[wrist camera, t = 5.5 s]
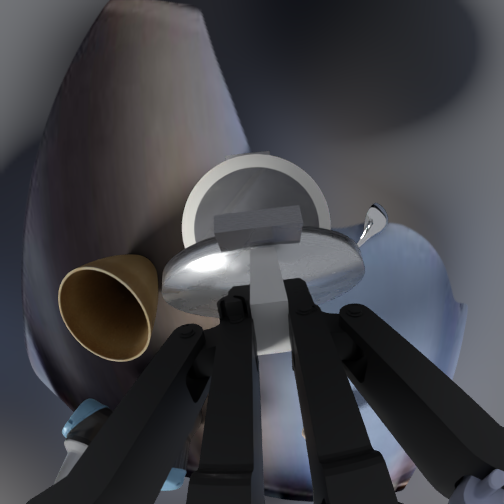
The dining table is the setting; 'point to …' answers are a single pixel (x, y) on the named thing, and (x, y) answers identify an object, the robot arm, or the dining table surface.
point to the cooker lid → (238, 259)
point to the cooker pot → (251, 193)
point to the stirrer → (374, 223)
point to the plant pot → (111, 305)
